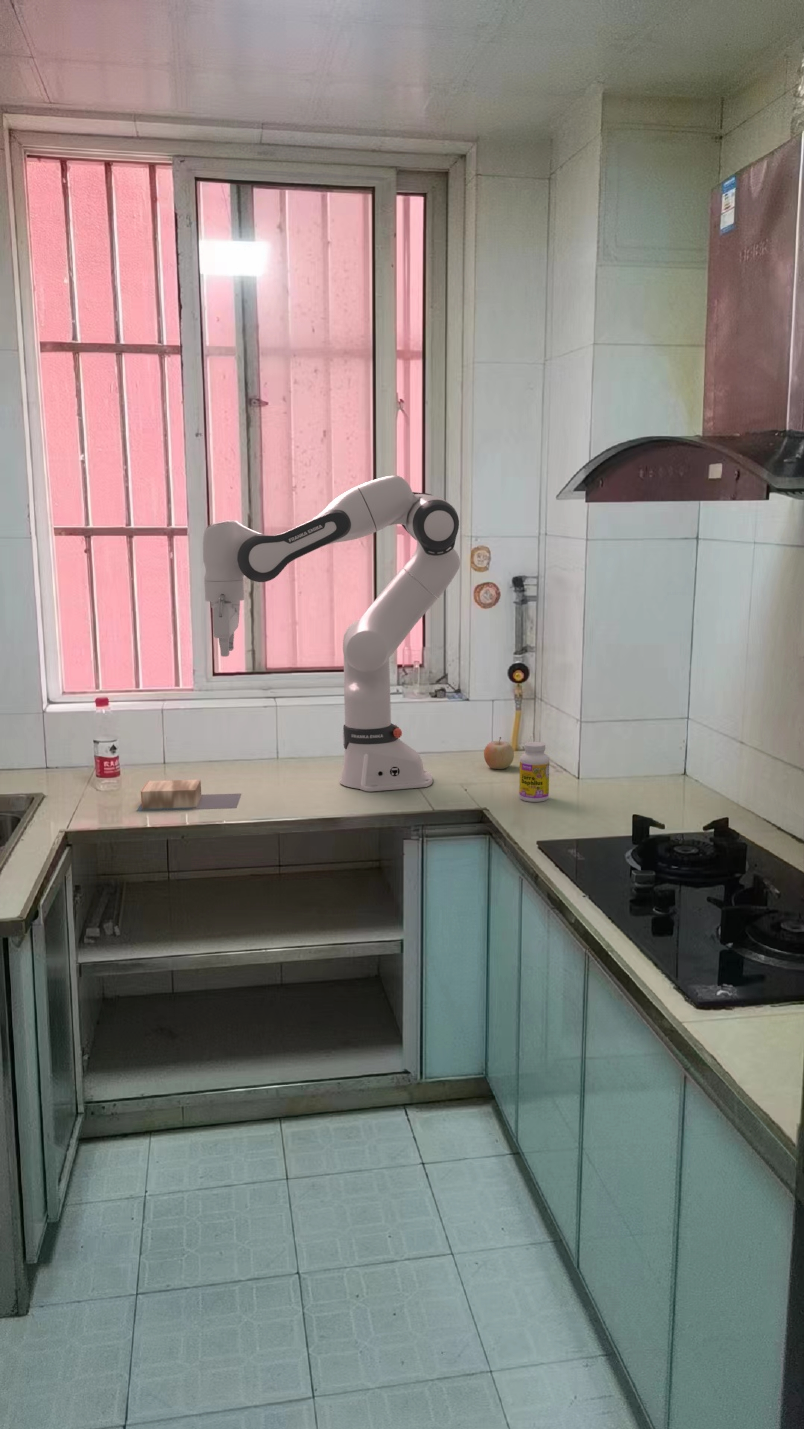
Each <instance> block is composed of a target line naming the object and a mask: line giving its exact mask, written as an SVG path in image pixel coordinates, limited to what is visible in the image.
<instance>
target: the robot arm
mask: <svg viewBox="0 0 804 1429" xmlns="http://www.w3.org/2000/svg"><path fill="white" fill-rule="evenodd" d="M394 525H401V526H402V528H403V529H404V530H405V531H406V532H407V533H408V534H409V535H410V536H411V538H413V539H414V540H415V541H416V548H415V551H414V553H413V555H412V556H411V558H410V559H409V560H408V561H407V562H406V563H405V565H403V567H402V568H401V569H399V571H398V572H397V574H396V575H394V576H393V578H392V579H391V581H390V582H389V583H387V585H386V586H385V587H384V589H383V590H381V592H380V593H378V594H379V595H378V596H377V597H376V598H375V600H374V601H373V602H371V604H370V606H369V607H368V609H367V610H366V611H365V612H364V614H363V615H361V617H360V618H359V619H357V620H355V621H353V622H352V623H351V624H349V626H348V627H347V629H346V630H345V633H344V635H343V640H342V653H343V693H344V694H343V695H344V696H343V697H344V698H343V700H344V701H343V702H344V725H343V730H342V743H343V748H344V756H343V764H342V765H343V766H342V770H341V775H340V779H339V783H340V785H342V786H345V787H348V788H353V789H360V790H361V791H364V792H382V791H390V790H391V791H392V790H406V789H414V788H415V789H417V788H428V787H430V786H431V785H432V784H433V783H434V781H433V775H432V773H431V772H429V771H428V770H425V769H424V763H423V760H422V757H421V755H420V753H418V751H416V750H415V749H414V748H412V747H411V746H409V745H408V744H407V743H405V742H404V741H402V740H401V739H400V738H401V737H402V735H403V733H402V732H403V731H402V729H401V728H400V727H399V726H398V725H397V724H394V723H392V721H391V720H392V715H391V713H392V712H391V709H392V708H391V705H392V704H391V678H390V676H391V675H390V658H391V656H392V655H393V654H394V653H395V652H396V651H397V649H398V648H399V646H400V645H401V644H402V642H404V640H405V639H406V637H408V635H409V633H410V632H411V631H412V629H413V628H414V626H415V625H416V624H417V623H418V622H419V621H420V620H421V619H422V618H423V616H425V615H426V613H427V612H428V611H429V609H431V607H432V606H433V605H434V604H435V603H436V601H438V599H439V598H440V597H441V595H443V593H445V590H446V589H447V588H448V587H449V585H450V584H451V583H452V580H453V579H454V578H455V576H456V575H457V573H458V571H459V569H460V567H461V560H460V557H459V554H458V553H457V551H456V550H455V545H456V540H457V536H458V532H459V528H460V520H459V516H458V513H457V511H456V509H455V507H454V506H453V505H451V504H450V503H449V502H447V501H446V500H445V499H443V498H442V497H440V496H438V495H433V494H431V493H427V492H426V493H425V492H414V491H413V490H412V487H411V486H410V484H409V483H408V481H406V479H404V478H403V477H401V476H400V475H395V474H393V475H388V476H387V475H386V476H383V477H379V478H375V479H372V480H370V481H367V482H364V483H362V484H360V485H357V486H355V487H352V488H351V489H349V490H347V491H345V492H344V493H342V494H340V495H338V496H337V497H336V498H334V499H333V500H332V501H330V502H329V503H328V504H327V506H326V507H325V508H324V509H323V510H322V511H321V512H320V513H318V515H317V516H315V517H313V518H312V519H310V520H308V521H306V522H303V523H301V524H299V525H297V526H294V527H293V528H291V529H289V530H286V531H284V532H280V533H277V534H273V535H268V534H264V533H261V532H259V531H256V530H254V529H251V528H248V527H247V526H245V525H243V524H241V523H240V522H239V521H238V520H236V519H228V520H223V521H218V522H213V523H211V524H209V525H208V526H207V527H206V528H205V529H204V532H203V539H202V560H203V564H204V567H205V574H204V577H203V580H204V581H203V582H204V598H205V599H204V600H205V602H209V603H210V604H211V605H210V607H211V609H212V629H213V630H212V631H213V638H214V639H218V644H219V648H220V656H221V657H223V658H224V657H229V655H230V651H233V650H234V649H235V648H234V646H235V645H234V644H235V643H234V639H235V631H236V630H237V629H238V628H239V625H240V611H241V610H240V609H241V606H240V605H241V601H244V600H245V583H244V582H245V581H244V576H245V577H246V578H247V579H249V580H250V581H254V582H256V583H257V582H258V583H265V582H270V581H272V580H274V579H275V578H276V577H278V576H279V575H280V574H281V573H282V571H283V570H284V569H285V567H287V565H289V564H290V563H291V562H293V561H295V560H297V559H298V558H301V557H303V556H304V555H307V554H310V553H311V552H313V551H316V550H318V549H320V548H322V547H324V546H328V545H331V544H336V543H342V542H347V541H354V540H357V539H361V538H363V537H367V536H369V535H372V534H375V533H376V532H379V531H381V530H383V529H384V528H387V527H389V526H390V527H391V526H394Z"/></svg>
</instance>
